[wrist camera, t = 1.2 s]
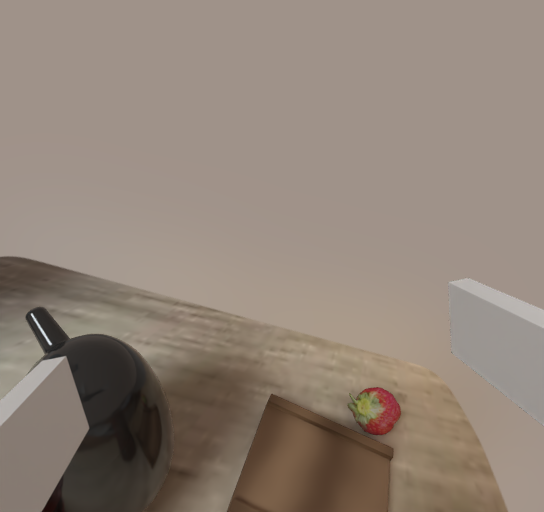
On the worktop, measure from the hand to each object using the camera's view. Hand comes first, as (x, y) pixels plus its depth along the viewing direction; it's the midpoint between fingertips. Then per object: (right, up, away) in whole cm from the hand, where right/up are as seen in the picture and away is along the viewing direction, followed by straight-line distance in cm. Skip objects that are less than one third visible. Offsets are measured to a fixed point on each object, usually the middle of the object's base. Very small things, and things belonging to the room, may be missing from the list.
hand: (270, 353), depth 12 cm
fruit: (+10, -14, +24) cm, 29 cm away
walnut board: (+4, -16, +18) cm, 24 cm away
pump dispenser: (-13, -13, +15) cm, 24 cm away
